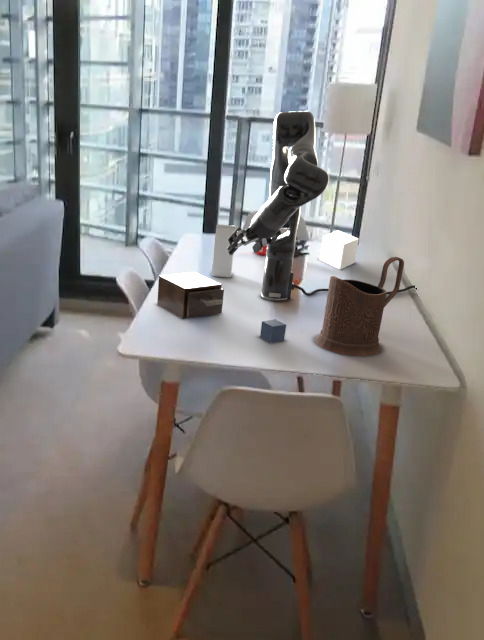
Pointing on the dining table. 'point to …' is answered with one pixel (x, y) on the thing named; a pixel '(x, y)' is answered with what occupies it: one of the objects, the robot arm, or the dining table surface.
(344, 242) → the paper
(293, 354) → the dining table surface
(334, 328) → the cup holder
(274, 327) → the block
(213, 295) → the drawer
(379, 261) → the dining table surface
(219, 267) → the milk carton
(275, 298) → the robot arm
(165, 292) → the cabinet
